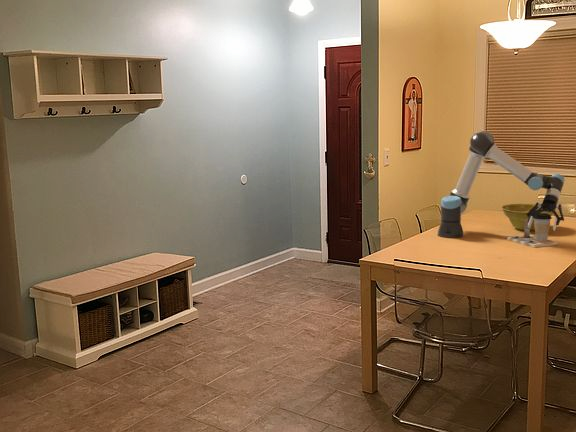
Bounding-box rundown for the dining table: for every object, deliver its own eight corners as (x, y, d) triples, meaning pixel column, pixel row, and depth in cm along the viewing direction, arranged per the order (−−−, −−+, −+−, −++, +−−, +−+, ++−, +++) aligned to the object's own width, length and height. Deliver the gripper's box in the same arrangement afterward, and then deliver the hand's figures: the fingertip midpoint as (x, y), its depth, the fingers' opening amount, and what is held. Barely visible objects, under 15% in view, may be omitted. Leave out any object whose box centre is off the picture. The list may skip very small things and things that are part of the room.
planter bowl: (563, 233, 379) (564, 211, 377) (509, 234, 380) (510, 212, 377) (543, 223, 411) (544, 203, 408) (493, 224, 411) (494, 204, 409)
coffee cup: (531, 241, 350) (532, 215, 348) (533, 238, 359) (534, 212, 356) (549, 243, 346) (550, 216, 344) (551, 239, 354) (552, 213, 352)
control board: (507, 239, 365) (508, 220, 363) (529, 237, 370) (530, 218, 368) (534, 247, 344) (535, 227, 342) (557, 244, 350) (558, 224, 347)
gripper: (575, 203, 352) (565, 234, 344) (530, 200, 368) (520, 229, 360) (573, 195, 347) (563, 226, 339) (528, 192, 363) (517, 221, 355)
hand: (541, 228), depth 349 cm, fingers open, 13 cm apart
